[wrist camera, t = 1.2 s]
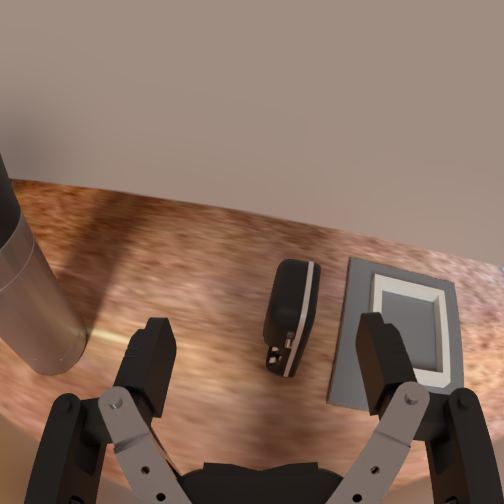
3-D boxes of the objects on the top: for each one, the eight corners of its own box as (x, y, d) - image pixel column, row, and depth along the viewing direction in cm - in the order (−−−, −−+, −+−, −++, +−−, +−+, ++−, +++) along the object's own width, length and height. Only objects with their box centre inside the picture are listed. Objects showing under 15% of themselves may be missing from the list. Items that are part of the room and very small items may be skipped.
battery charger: (269, 318, 36) (279, 246, 28) (302, 325, 35) (323, 254, 27) (256, 373, 31) (263, 312, 23) (293, 381, 31) (315, 322, 22)
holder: (326, 403, 29) (333, 394, 27) (349, 263, 42) (354, 249, 40) (458, 421, 26) (471, 413, 24) (450, 288, 39) (458, 275, 37)
